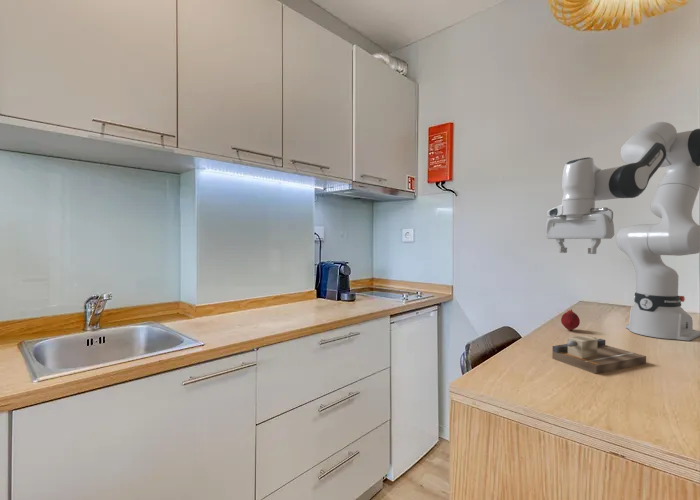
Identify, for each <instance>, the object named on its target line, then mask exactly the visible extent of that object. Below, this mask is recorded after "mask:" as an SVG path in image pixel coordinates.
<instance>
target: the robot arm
mask: <svg viewBox="0 0 700 500" xmlns="http://www.w3.org/2000/svg"><path fill="white" fill-rule="evenodd" d="M620 158H621V161H623V163H624V165H619V166H615V167H610V168H605V169H601V168H599V167H598V166H597V165H596V164H595V161H594V158H592V157H590V156H589V157H581V158H578V159H577V158H576V159H574V160H569V161H568V162H566V163H565V164H564V166H563V171H562V177H561V178H562V179H561V189H562V193H563V195H562V198H561V204H559V205H557V206H555V207H552V208H551V209H549V210H547V212H546V215H547V217H548V218H547V219H546V222H545V233H544V234H545V237H546V238H547V239H548V240H555V242H556V245H557V247H558V249H559V251H558V253H560V254H566V253H568V247H565V244H564V243H565V240H566V239H567V240H568V239H569V240H571V239H572V240H573V239H574V240H578V239H579V240H581V239H582V240H587V239H589V240H590V239H591V243H592V245H591V246H590V247H588V248H587V254H589V255H596V254H597V248H598V247H599V246H600V244H601V242H602V241H601V240H605V239H606V240H608V239H613V237H614V236H616V237H615V242H616V246H617V247H618V248H619V250H621V251H622V252H623V253H624V254H625V255H626V256H627V257H628V258H629V259H630V262H631V263H632V264H633V267H634V270H635V281H636V288H635V290H636V292H634V295H633V297H634V305H632V306H631V307H630V312H629V313H630V314H629V321H628V324H625V325H624V326H625V329H628V330H629V331H630V332H631V333H634V334H636V335H637V334H638V335H641V336H646V337H649V338H651V337H652V338H657V339H664V340H665V339H666V340H667V339H670V340H678V341H688V342H689V341H692V340H694V339H696V338H698V337H700V331H699V330H696V329H693V328H694V327H693V322H694V321H693V317H692V316H691V315H690V314H689V313H688V312H686V311H685V309H684V308H682V302H683V303H684V302H685V300H686V297H685V295H679V274H678V272H677V271H676V270H675V269H674V268H672V267H670V266H669V265H666V264H665V263H664V261H663V259H662V256H675V257H677V256H689V255H690V256H691V255H694V254H695V255H696V254H700V225H699V224H698V223H697V222H695V220H694V219H693V218H694V217H693V208H694V204H695V202H696V199H697V196H698V193H699V190H700V128H695V129H693V130H687V131H683V132H682V131H681V132H677V128H676V127H675V126H674V125H673V124H671V123H670V122H667V121H666V122H665V121H659V122H658V121H657V122H655V123H651V124H649V125H647V126H646V127H644V128H641V129H640V130H639V131H637V132H635V134H632V136H631V137H628V139H627V140H625V142H624V143H623V144H622V146H621V148H620ZM659 168H665V173H664V174H663V175H662V177H661V179H660V180H659V183H658V185H657V187H656V190H655V192H654V195H653V197H652V200H651V203H650V211H651V212H652V214H653V215H655V216H656V217H658V218H660V219H661V220H660V222H659V223H652V224H651V223H649V224H646V223H645V224H643V223H642V224H634V225H629V226H625V227H622V228H621V229H619V231H618V232H617V234H616V235H615V225H614V211H613V210H612V209H610V208H608V207H601V208H600V207H597V208H596V201H606V200H617V199H633V198H637V197H639V196H640V195H642V194H643V192H644V191H645V190H646V189H647V187H648V184H649V182H650V180H651V178H652V177H653V176H654V175H655V173H656V172H657V171H658V169H659Z"/></svg>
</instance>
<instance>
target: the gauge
mask: <svg viewBox="0 0 700 500" xmlns="http://www.w3.org/2000/svg"><path fill="white" fill-rule="evenodd" d="M598 339H599V338H596V337H590V336H586V335H576V336H569V337H567V343H566V344H567V345H568V354H570V355H573V356H576V357H579V358H588V357H593V356H597V344H598Z"/></svg>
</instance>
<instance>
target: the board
mask: <svg viewBox="0 0 700 500" xmlns="http://www.w3.org/2000/svg"><path fill="white" fill-rule="evenodd" d="M597 339H598V344H597V356H593V357H588V358H579V357H576V356H573V355H570V354H568V345H567V343H563V344H558V345H557V344H556V345H552V351H551V353H552V355H551V356H552V357H551V358H552V359H553V360H555V361H558V362H562V363H564V364H567V365H569V366H572V367H576V368H578V369H581V370H584V371H587V372H590V373H593V374H595V375H597V374H603V373H606V372H607V373H608V372H611V371H616V370H621V369H626V368H632V367H635V366H641V365H646V364H647V356H646V355H643V354H640V353H636V352H633V351H628V350H625V349H621V348H619V347H614V346H611V345H606V339H602V338H597Z"/></svg>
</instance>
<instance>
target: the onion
mask: <svg viewBox="0 0 700 500" xmlns="http://www.w3.org/2000/svg"><path fill="white" fill-rule="evenodd" d="M560 321H561V325H562V326H563V327H565V329H566V330H568V331H570V332H571V331H573V330H575V329H576V328H578V327H579V326H580V323H581V322H580V321H581V320H580V318H579V315H577V313H575V312H574V311H573V309H571V308H569V309H568V311H566V312H564V313H563V314H562V315H561V319H560Z"/></svg>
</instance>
